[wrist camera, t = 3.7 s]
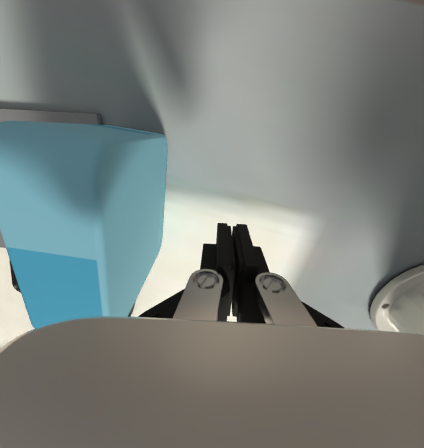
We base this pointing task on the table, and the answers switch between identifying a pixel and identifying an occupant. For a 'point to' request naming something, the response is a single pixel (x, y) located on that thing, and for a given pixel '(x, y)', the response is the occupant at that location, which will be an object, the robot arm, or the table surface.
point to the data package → (80, 215)
